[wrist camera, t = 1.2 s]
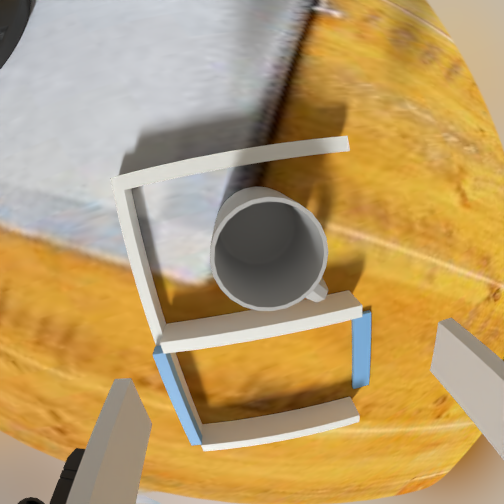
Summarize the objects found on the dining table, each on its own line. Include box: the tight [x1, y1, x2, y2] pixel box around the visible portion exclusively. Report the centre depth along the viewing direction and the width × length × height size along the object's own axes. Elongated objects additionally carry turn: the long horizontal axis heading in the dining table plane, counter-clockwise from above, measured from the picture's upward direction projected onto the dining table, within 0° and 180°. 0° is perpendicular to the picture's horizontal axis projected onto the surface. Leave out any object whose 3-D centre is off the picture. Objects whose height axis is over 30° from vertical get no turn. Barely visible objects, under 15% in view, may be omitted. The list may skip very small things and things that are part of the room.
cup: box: [210, 186, 328, 311], centre depth 24 cm, size 7×10×9 cm
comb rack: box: [110, 136, 371, 451], centre depth 28 cm, size 30×21×4 cm
